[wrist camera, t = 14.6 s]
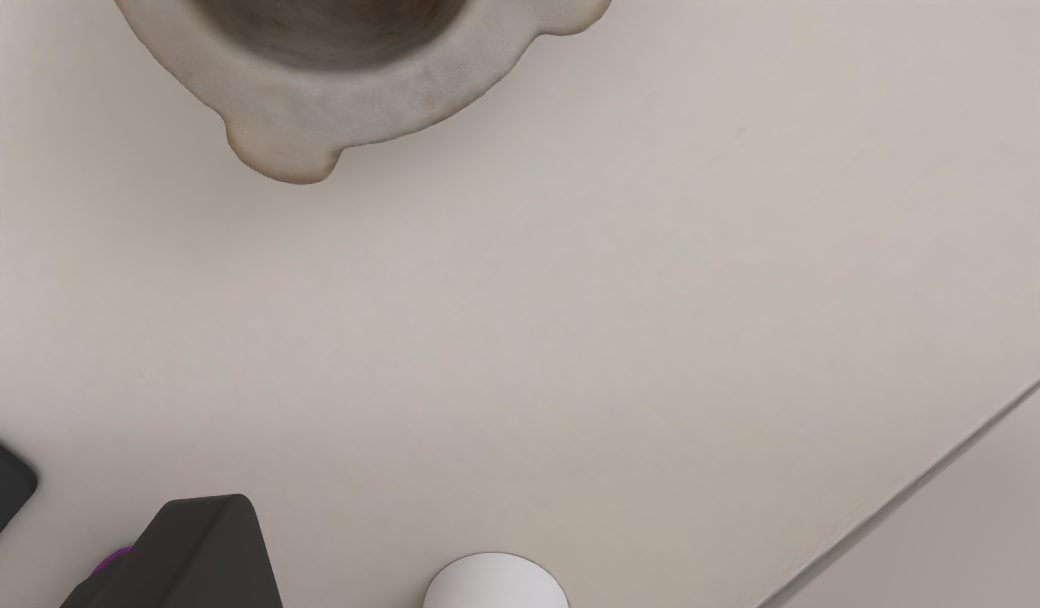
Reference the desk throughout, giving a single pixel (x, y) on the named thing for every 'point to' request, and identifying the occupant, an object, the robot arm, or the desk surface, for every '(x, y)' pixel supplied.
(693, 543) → the desk surface
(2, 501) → the phone
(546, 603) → the cup
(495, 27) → the mortar
